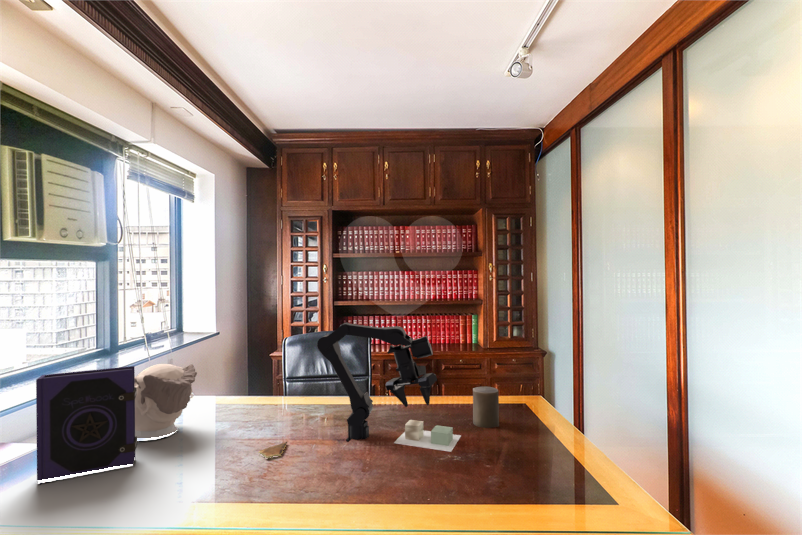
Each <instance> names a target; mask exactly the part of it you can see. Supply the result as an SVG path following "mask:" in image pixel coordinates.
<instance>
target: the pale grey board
mask: <svg viewBox="0 0 802 535" xmlns="http://www.w3.org/2000/svg"><path fill="white" fill-rule="evenodd" d="M431 431H432V430H431ZM431 431H430V430H424V429H423V435H424V436H423V437H422V438H421V439H420V440H419V441H416V440H409V439H405V431H404V432H402V434H401V435H400V436H399V437H398V438H397V439H396V440H395V441H394V442H393V444H397V445H403V446H411V447H417V448H423V449H431V450H436V451H445V452H449V453H450V452H451V453H452V451H453V449H454V448H455V446H456V445H457V443H458V442H459V441H460V439H461V437H462V435H460V434H454V433H453V440H452V441H451V443H450V444H449V446H446V445H439V444H432V443H431Z"/></svg>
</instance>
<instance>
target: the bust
mask: <svg viewBox="0 0 802 535" xmlns="http://www.w3.org/2000/svg"><path fill="white" fill-rule="evenodd" d="M197 374H198V372H197V371H196V368H195V367H194V364H193V363H192V364H189V365H188V366H185V367H181V366H178V365H174V364H170V363H157V364H154V365H151V366H149V367H146V368H145V369H144V370H142V371H141V372H139V373H138V374H137V375H136V376H135V387H137V395H136V398H135V437H136V436H137V438H151V437H159V436H163V435H167V434H170V433H172V432H175V431H176V430H177V428H178V427H177V426H176V425H175V422H176V420H177V419H179V417H180V416H181V415H182V413H183V410H185V409H186V408H187V406H188V404H189V402H191V395H192V393H193V387H192V384H193V383H195V380H196V376H198V375H197Z"/></svg>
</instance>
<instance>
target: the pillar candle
mask: <svg viewBox="0 0 802 535" xmlns="http://www.w3.org/2000/svg"><path fill="white" fill-rule="evenodd" d="M499 394H500V393H499V389H498V388H496V387H493V386H492V387H491V386H476V387H473V388H472V423H473V425H474V426H476V427H477V428H478V427H479V428H482V429H483V428H485V429H489V428H490V429H491V428H492V429H493V428H495V427H500V408H499V407H500V404H499V403H500V401H499V397H500V396H499Z"/></svg>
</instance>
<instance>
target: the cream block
mask: <svg viewBox="0 0 802 535" xmlns="http://www.w3.org/2000/svg"><path fill="white" fill-rule="evenodd" d="M423 430H424V420H423V421H422V420H416V419H415V420H414V419H409V420H408V421H407V422H406V423H405V424H404V432H405V439H409V440H416V441H419V440H420V439H421V438H422V437H423V436H424V435H423Z"/></svg>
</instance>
